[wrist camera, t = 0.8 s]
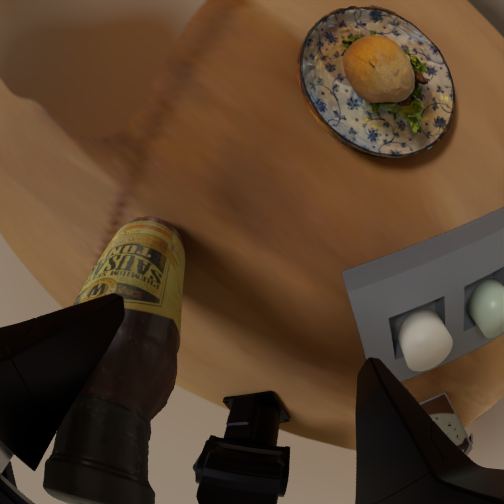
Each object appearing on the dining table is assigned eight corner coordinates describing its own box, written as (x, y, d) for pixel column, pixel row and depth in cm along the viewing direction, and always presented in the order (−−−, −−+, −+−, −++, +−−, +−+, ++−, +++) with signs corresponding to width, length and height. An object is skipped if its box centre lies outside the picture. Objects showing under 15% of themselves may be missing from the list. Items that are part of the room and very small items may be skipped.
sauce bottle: (176, 204, 21) (162, 501, 3) (193, 272, 24) (224, 523, 6) (101, 222, 20) (-18, 461, 3) (124, 286, 23) (86, 515, 6)
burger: (447, 164, 17) (504, 180, 10) (302, 155, 19) (305, 162, 12) (433, 27, 12) (477, -4, 5) (290, 9, 14) (283, -44, 7)
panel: (538, 286, 18) (552, 300, 15) (369, 367, 25) (373, 390, 22) (541, 188, 14) (560, 196, 11) (341, 271, 21) (347, 292, 18)
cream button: (439, 337, 19) (451, 359, 16) (399, 352, 20) (407, 377, 17) (438, 301, 18) (453, 324, 15) (394, 319, 19) (404, 344, 16)
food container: (376, 437, 30) (382, 493, 21) (370, 420, 28) (376, 484, 19) (452, 408, 26) (469, 461, 17) (454, 386, 25) (476, 446, 16)
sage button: (498, 307, 17) (514, 325, 14) (467, 324, 18) (480, 345, 15) (501, 271, 15) (519, 288, 13) (467, 288, 17) (484, 308, 14)
